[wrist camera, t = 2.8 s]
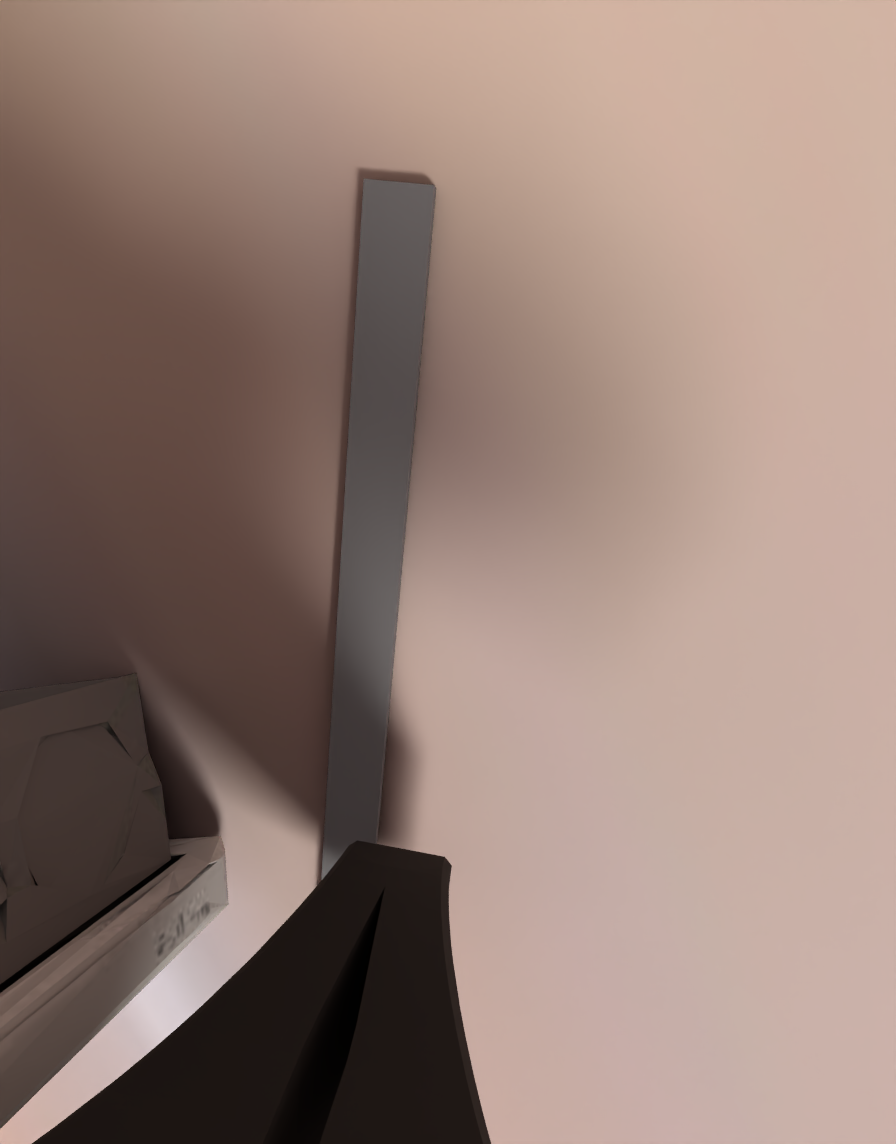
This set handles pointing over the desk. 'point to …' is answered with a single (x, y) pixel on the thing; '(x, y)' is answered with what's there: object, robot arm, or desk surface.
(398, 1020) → the robot arm
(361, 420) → the long thin gray rod
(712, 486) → the desk surface
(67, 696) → the electrical switch
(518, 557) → the desk surface
